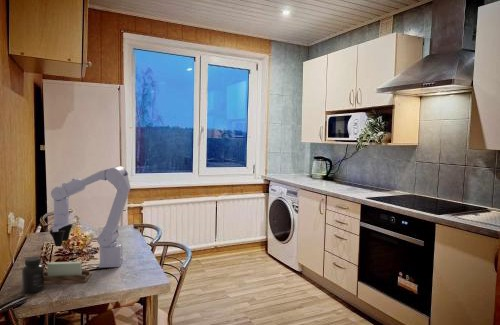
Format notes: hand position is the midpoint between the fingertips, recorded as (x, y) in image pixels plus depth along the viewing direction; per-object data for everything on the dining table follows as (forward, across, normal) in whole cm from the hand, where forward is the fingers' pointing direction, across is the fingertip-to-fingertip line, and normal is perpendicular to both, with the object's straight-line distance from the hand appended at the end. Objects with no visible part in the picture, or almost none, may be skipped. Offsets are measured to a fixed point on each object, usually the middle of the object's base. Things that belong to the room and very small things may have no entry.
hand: (61, 243), depth 152 cm
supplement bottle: (+10, +26, -1) cm, 27 cm away
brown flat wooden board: (+9, +17, +7) cm, 21 cm away
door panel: (+9, +17, +7) cm, 20 cm away
